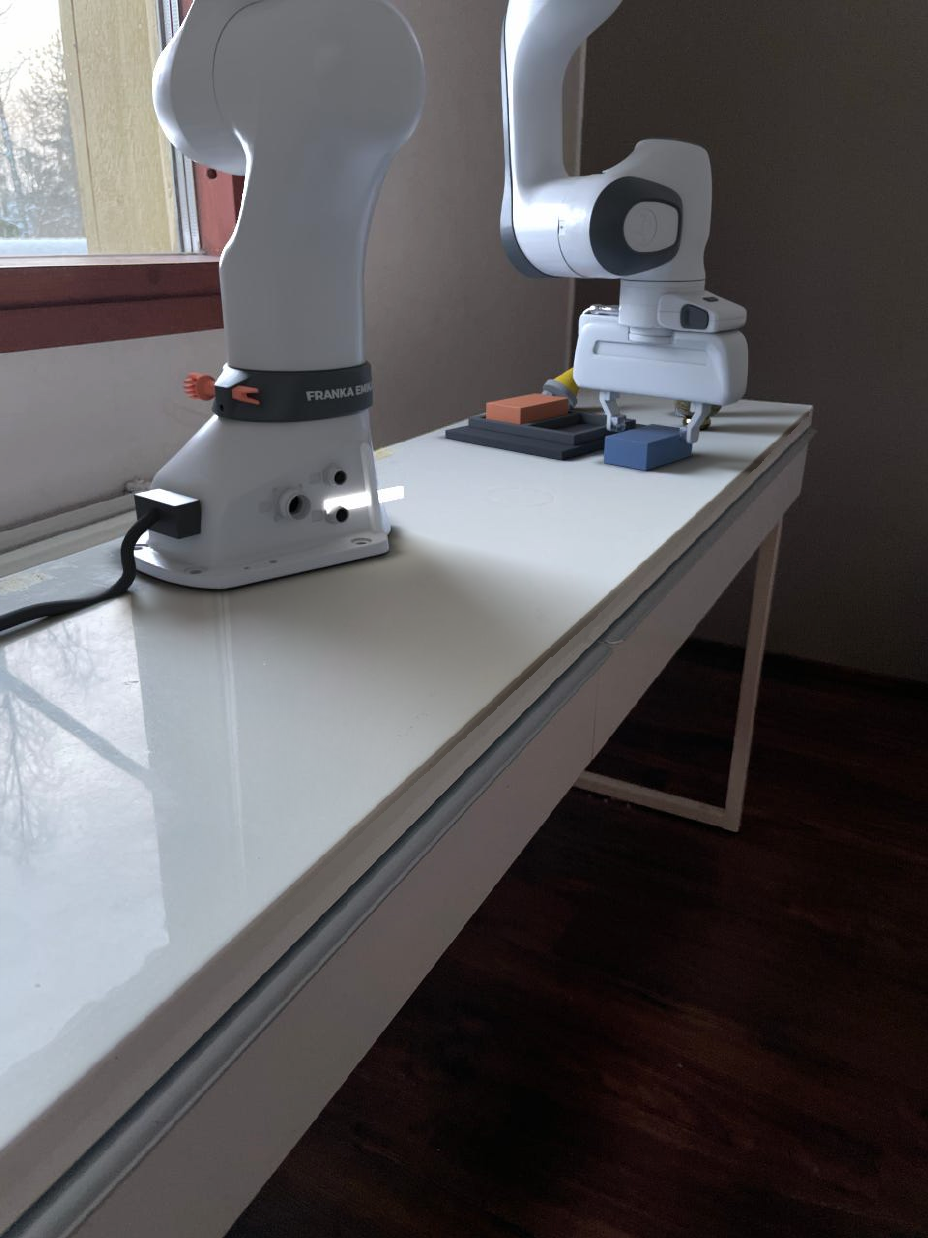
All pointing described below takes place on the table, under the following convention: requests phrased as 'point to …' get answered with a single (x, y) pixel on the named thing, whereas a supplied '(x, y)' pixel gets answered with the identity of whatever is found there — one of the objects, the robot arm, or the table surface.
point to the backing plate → (541, 434)
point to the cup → (684, 409)
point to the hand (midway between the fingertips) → (651, 436)
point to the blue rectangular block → (646, 447)
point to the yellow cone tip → (563, 388)
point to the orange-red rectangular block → (527, 408)
